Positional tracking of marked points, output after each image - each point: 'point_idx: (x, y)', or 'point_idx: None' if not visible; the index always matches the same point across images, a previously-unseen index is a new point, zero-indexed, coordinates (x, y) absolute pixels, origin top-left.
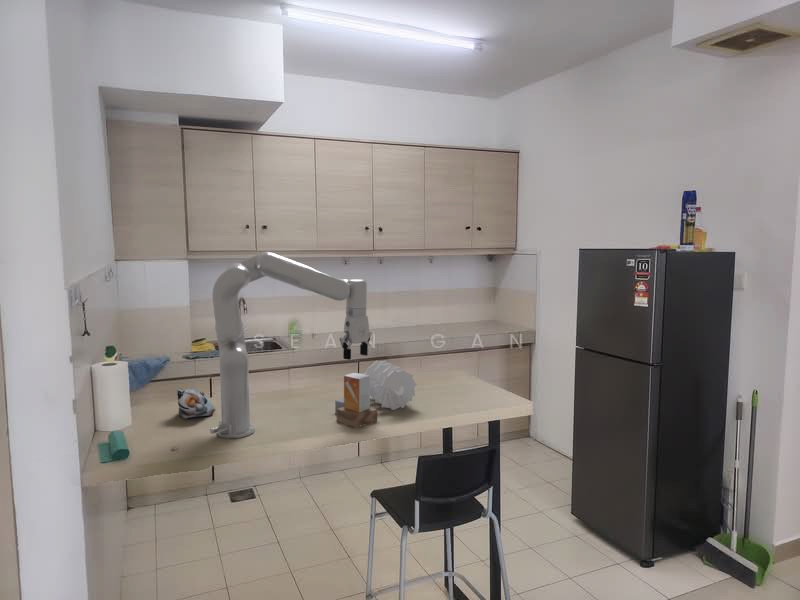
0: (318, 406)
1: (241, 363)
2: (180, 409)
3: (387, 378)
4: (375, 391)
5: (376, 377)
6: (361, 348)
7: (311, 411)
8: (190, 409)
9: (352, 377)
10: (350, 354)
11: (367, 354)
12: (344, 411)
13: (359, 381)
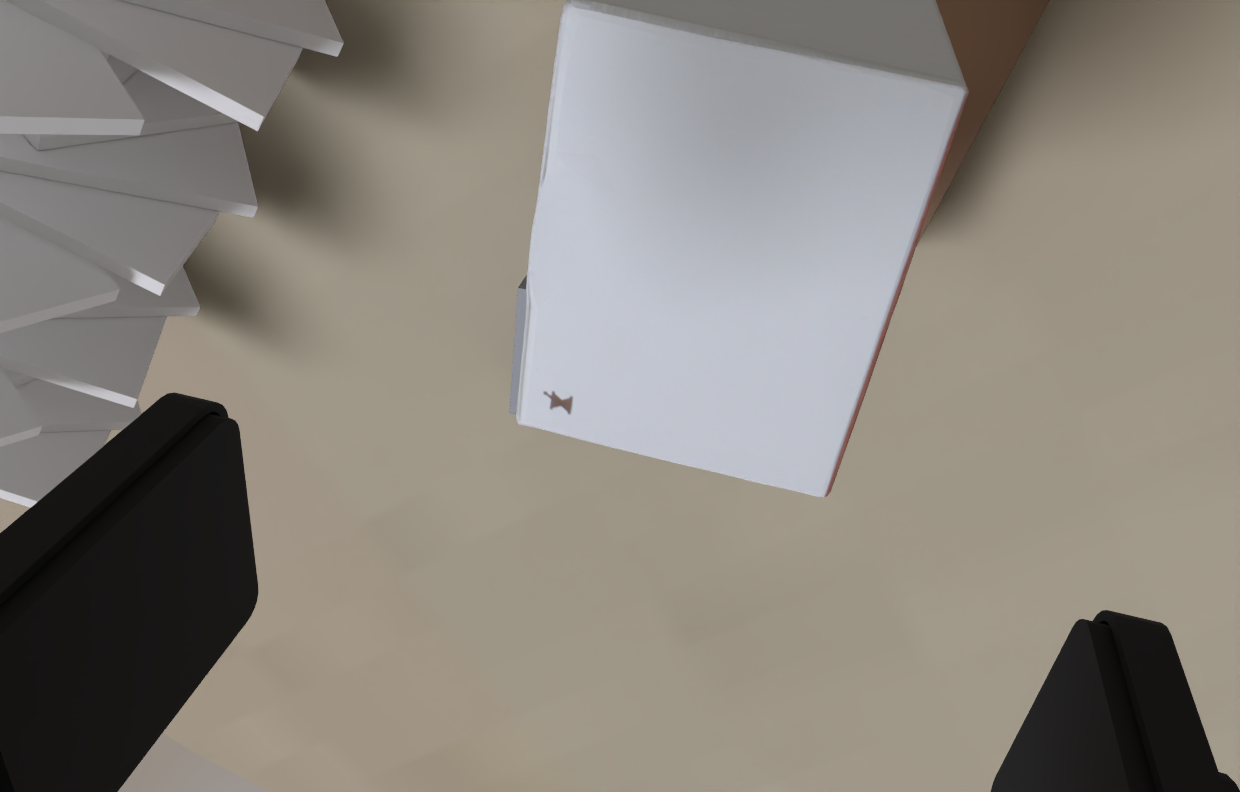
0: (593, 570)
1: None
2: None
3: None
4: (279, 75)
5: (7, 235)
6: (130, 724)
7: (741, 564)
8: None
9: (893, 294)
10: (1186, 767)
11: (160, 398)
12: (948, 172)
13: (953, 67)
